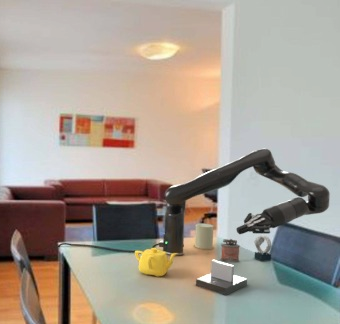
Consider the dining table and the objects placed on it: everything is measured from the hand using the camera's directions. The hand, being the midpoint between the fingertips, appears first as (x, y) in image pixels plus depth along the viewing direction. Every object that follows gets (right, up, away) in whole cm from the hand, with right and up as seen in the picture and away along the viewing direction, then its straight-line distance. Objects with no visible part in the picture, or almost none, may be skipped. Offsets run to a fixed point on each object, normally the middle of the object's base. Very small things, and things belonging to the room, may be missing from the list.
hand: (237, 231), depth 144 cm
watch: (+26, -20, +38) cm, 50 cm away
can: (+4, -19, +58) cm, 61 cm away
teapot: (-29, -20, +13) cm, 37 cm away
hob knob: (-6, -18, +1) cm, 19 cm away
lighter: (+9, -20, +34) cm, 41 cm away
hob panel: (-6, -21, +1) cm, 21 cm away
